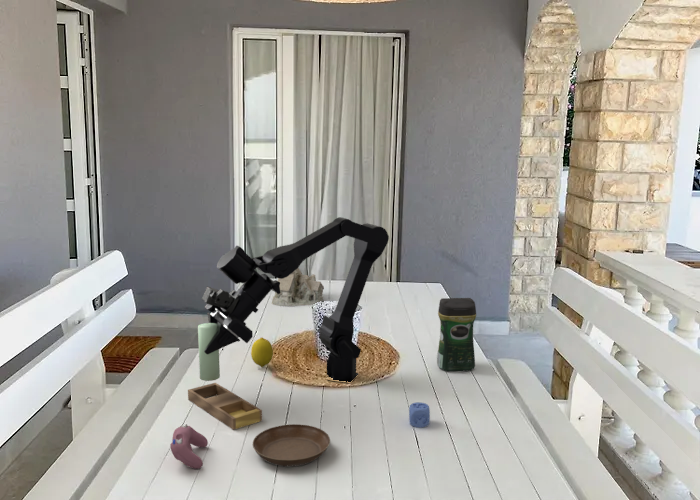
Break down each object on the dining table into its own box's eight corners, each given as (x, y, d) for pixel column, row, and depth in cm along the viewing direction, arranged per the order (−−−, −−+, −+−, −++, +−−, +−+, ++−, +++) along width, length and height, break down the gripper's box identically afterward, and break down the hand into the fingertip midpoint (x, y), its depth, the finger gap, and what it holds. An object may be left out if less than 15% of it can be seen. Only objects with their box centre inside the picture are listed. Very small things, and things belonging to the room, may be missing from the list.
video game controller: (189, 453, 134) (171, 424, 133) (210, 442, 134) (192, 413, 133) (182, 479, 125) (162, 447, 123) (204, 467, 125) (185, 436, 123)
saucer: (258, 477, 123) (258, 463, 122) (248, 441, 137) (248, 428, 136) (338, 467, 127) (338, 453, 126) (320, 432, 141) (320, 420, 140)
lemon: (269, 371, 174) (268, 341, 173) (248, 370, 175) (247, 340, 174) (275, 364, 179) (275, 335, 178) (255, 362, 181) (255, 333, 179)
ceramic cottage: (265, 303, 240) (267, 261, 237) (294, 295, 253) (297, 255, 251) (300, 312, 231) (303, 269, 229) (328, 304, 245) (332, 263, 242)
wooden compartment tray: (188, 399, 156) (187, 389, 156) (215, 392, 161) (215, 382, 160) (233, 429, 141) (233, 418, 141) (262, 420, 146) (261, 410, 145)
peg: (223, 375, 156) (221, 324, 153) (213, 381, 152) (211, 329, 149) (206, 372, 157) (204, 322, 155) (196, 379, 153) (194, 327, 151)
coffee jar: (469, 362, 182) (472, 294, 179) (477, 372, 175) (480, 302, 171) (433, 362, 182) (436, 294, 178) (439, 373, 174) (442, 302, 170)
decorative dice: (409, 419, 147) (409, 401, 146) (427, 419, 147) (428, 402, 146) (410, 427, 143) (410, 409, 142) (429, 428, 143) (429, 409, 142)
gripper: (212, 266, 160) (166, 317, 157) (236, 282, 144) (186, 340, 141) (245, 295, 165) (201, 345, 162) (273, 314, 148) (224, 371, 146)
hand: (202, 349), depth 152 cm, fingers closed on peg, 4 cm apart
